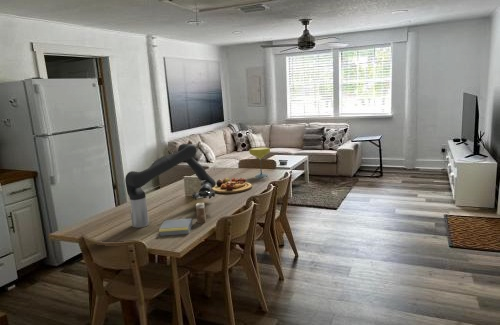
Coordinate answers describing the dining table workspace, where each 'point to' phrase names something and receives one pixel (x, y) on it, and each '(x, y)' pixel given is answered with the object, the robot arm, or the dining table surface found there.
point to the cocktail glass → (259, 155)
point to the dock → (175, 227)
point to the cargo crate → (201, 212)
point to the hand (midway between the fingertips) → (202, 197)
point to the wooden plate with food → (231, 186)
